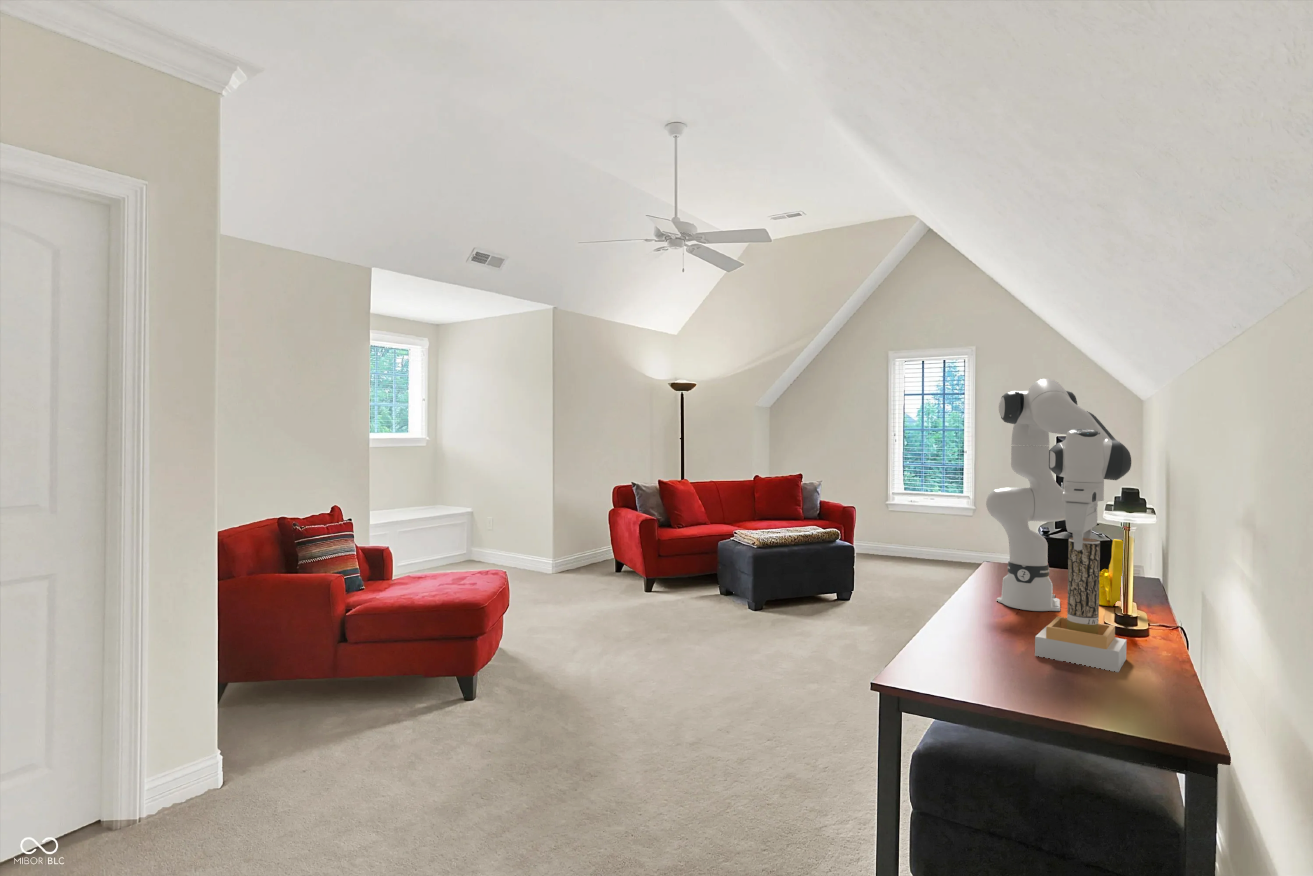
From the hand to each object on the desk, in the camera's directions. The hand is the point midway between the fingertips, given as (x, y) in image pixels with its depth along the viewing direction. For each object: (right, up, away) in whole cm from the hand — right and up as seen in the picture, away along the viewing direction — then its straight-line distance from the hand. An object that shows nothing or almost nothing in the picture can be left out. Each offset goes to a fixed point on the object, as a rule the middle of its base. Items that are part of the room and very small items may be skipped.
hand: (1082, 547), depth 177 cm
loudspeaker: (0, -28, 0) cm, 28 cm away
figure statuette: (+42, -28, +54) cm, 74 cm away
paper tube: (0, -23, 0) cm, 23 cm away
